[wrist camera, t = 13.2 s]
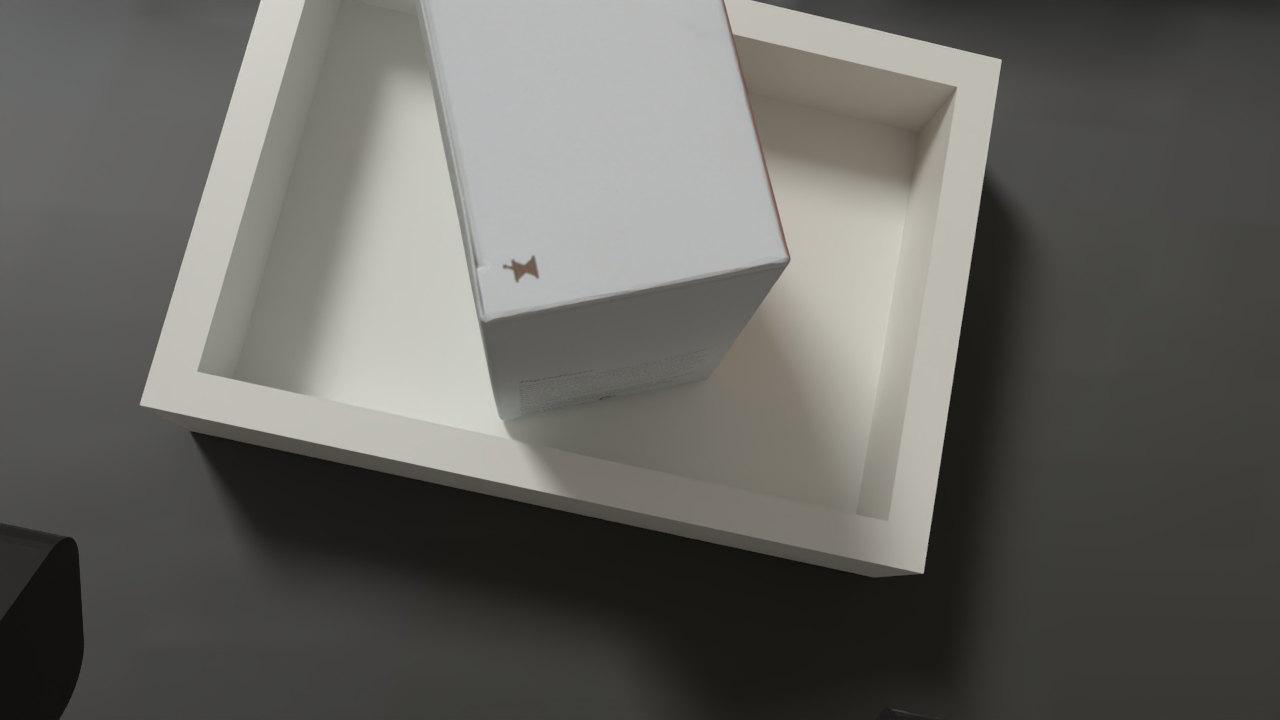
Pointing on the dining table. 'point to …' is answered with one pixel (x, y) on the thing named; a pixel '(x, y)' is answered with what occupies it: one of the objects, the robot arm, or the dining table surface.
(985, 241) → the dining table surface
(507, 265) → the small box
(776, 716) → the dining table surface
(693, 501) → the tray
